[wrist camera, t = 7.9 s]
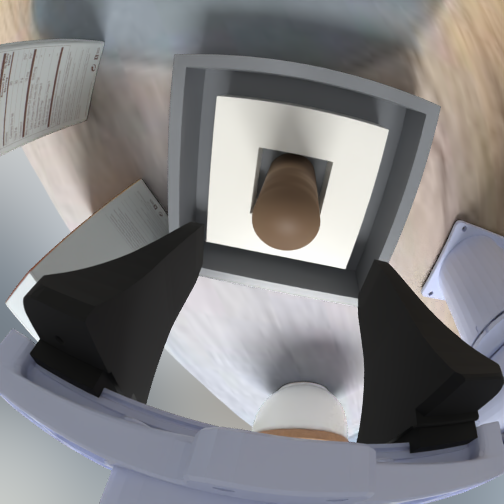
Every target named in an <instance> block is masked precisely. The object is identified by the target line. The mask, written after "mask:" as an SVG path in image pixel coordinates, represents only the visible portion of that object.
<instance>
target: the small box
mask: <svg viewBox="0 0 504 504" xmlns="http://www.w3.org/2000/svg"><path fill="white" fill-rule="evenodd" d="M167 234H169V224H168V215H167V214H166V212H165V211H164V210H163V208H162V207H161V205H160V204H159V203H158V201H157V200H156V198H155V197H154V196H153V194H152V193H151V192H150V190H149V189H148V187H147V186H146V185H145V183H144V182H143V180H142V179H139V180H138V181H137V182H135V183H134V184H132V185H131V186H129V187H128V188H126V189H125V190H124V191H122V192H121V193H120V194H119V195H117V196H116V197H115V198H113V199H112V200H110V201H109V202H108V203H107V204H106V205H104V206H103V207H102V208H100V209H99V210H98V211H97V212H95V213H94V214H93V215H92V216H90V217H89V218H88V219H87V220H85V221H84V222H83V223H82V224H81V225H79V226H78V227H77V228H76V229H75V230H73V231H72V232H71V233H70V234H69V235H68V236H66V237H65V238H64V239H63V240H62V241H61V242H60V243H59V244H57V245H56V246H55V247H54V248H53V249H52V250H51V251H50V252H49V253H48V254H46V255H45V256H44V257H43V258H42V259H41V260H40V261H39V262H38V263H37V264H36V265H35V266H34V267H33V268H31V270H29V272H28V273H27V274H26V275H25V276H24V277H23V279H22V280H21V281H20V283H19V284H18V285H17V286H16V288H15V289H14V290H13V292H12V293H11V295H10V296H9V297H8V299H7V301H6V302H5V303H6V305H7V306H8V308H9V309H10V310H11V311H12V313H13V314H14V315H15V316H16V317H17V319H18V320H19V321H20V322H21V323H22V325H23V326H24V327H25V328H26V329H27V330H28V331H29V333H30V334H31V335H32V336H33V337H34V338H35V339H36V340H37V341H39V340H40V338H39V336H38V335H37V333H36V331H35V330H34V328H33V326H32V324H31V322H30V321H29V319H28V317H27V315H26V313H25V310H24V306H23V297H24V296H25V295H26V294H27V293H28V292H29V291H30V289H31V288H32V287H33V286H34V285H35V284H36V283H37V282H38V281H39V280H40V279H41V278H42V276H43V275H50V274H56V273H63V272H69V271H74V270H79V269H84V268H87V267H91V266H95V265H98V264H101V263H104V262H108V261H111V260H114V259H117V258H119V257H122V256H124V255H127V254H129V253H131V252H134V251H136V250H138V249H140V248H142V247H144V246H146V245H148V244H150V243H152V242H154V241H156V240H158V239H160V238H161V237H163V236H165V235H167Z"/></svg>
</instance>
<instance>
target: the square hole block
mask: <svg viewBox="0 0 504 504" xmlns="http://www.w3.org/2000/svg"><path fill="white" fill-rule="evenodd" d="M440 108H441V106H439V105H436V104H434V103H432V102H429V101H427V100H425V99H422V98H420V97H417V96H415V95H412V94H410V93H407V92H404V91H402V90H399V89H396V88H393V87H390V86H388V85H385V84H382V83H378V82H375V81H372V80H369V79H365V78H362V77H358V76H355V75H351V74H347V73H343V72H339V71H335V70H331V69H326V68H322V67H317V66H312V65H307V64H301V63H296V62H290V61H283V60H276V59H268V58H259V57H249V56H236V55H217V54H175V55H174V63H173V73H172V85H171V98H170V115H169V137H168V224H169V233H170V232H172V231H174V230H176V229H177V228H179V227H181V226H183V225H185V224H187V223H189V222H196V223H201V224H205V226H204V250H203V265H202V268H201V270H200V273H199V276H202V277H207V278H211V279H216V280H220V281H225V282H230V283H235V284H239V285H244V286H249V287H254V288H259V289H264V290H269V291H274V292H279V293H284V294H289V295H294V296H299V297H305V298H310V299H315V300H321V301H326V302H332V303H338V304H343V305H349V306H355V307H358V294H359V292H360V290H361V288H362V286H363V284H364V281H365V279H366V277H367V275H368V272H369V270H370V268H371V266H372V263H373V261H374V259H376V260H380V261H385V262H387V263H389V261H390V258H391V256H392V254H393V251H394V249H395V247H396V244H397V242H398V240H399V237H400V235H401V232H402V230H403V227H404V225H405V222H406V220H407V217H408V215H409V212H410V209H411V207H412V204H413V201H414V198H415V195H416V193H417V190H418V187H419V184H420V181H421V178H422V175H423V172H424V168H425V165H426V162H427V158H428V155H429V152H430V148H431V144H432V141H433V137H434V133H435V129H436V125H437V121H438V117H439V112H440ZM286 153H294V154H299V155H302V156H304V157H306V158H307V159H308V160H309V161H310V162H311V163H312V165H313V167H314V170H315V176H316V184H317V193H318V202H319V211H320V228H319V231H318V233H317V235H316V237H315V238H314V240H313V241H312V242H310V243H309V244H308V245H306V246H305V247H303V248H300V249H297V250H291V251H283V250H278V249H275V248H272V247H270V246H268V245H267V244H265V243H264V242H263V241H261V240H260V238H259V237H258V236H257V234H256V233H255V231H254V228H253V225H252V213H253V210H254V207H255V204H256V202H257V199H258V197H259V194H260V191H261V189H262V186H263V184H264V181H265V178H266V176H267V173H268V171H269V168H270V166H271V164H272V162H273V161H274V160H275V159H276V158H277V157H279V156H280V155H283V154H286Z"/></svg>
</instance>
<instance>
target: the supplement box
mask: <svg viewBox="0 0 504 504" xmlns="http://www.w3.org/2000/svg"><path fill="white" fill-rule="evenodd" d="M103 47H104V42H103V41H95V40H84V39H46V40H32V41H22V42H13V43H6V44H0V156H2V155H4V154H6V153H8V152H10V151H12V150H14V149H16V148H18V147H21V146H23V145H25V144H27V143H30V142H32V141H34V140H36V139H39V138H41V137H43V136H46V135H48V134H51V133H53V132H56V131H59V130H61V129H64V128H66V127H69V126H72V125H75V124H77V123H81V122H83V121H86V120H87V116H88V111H89V106H90V100H91V96H92V91H93V87H94V82H95V78H96V74H97V70H98V66H99V62H100V58H101V54H102V51H103Z"/></svg>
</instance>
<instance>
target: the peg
mask: <svg viewBox="0 0 504 504" xmlns="http://www.w3.org/2000/svg"><path fill="white" fill-rule="evenodd" d="M252 225H253V228H254V231H255V233H256V234H257V236H258V237H259V238H260V240H261V241H263V242H264V243H265V244H267V245H268V246H270V247H272V248H275V249H278V250H283V251H291V250H297V249H300V248H303V247H305V246H306V245H308V244H309V243H310V242H312V241H313V240H314V238H315V237H316V235H317V233H318V231H319V228H320V211H319V202H318V193H317V184H316V176H315V170H314V167H313V165H312V163H311V162H310V161H309V160H308V159H307V158H306V157H304V156H302V155H299V154H294V153H286V154H283V155H280V156H279V157H277V158H276V159H275V160H274V161H273V162H272V164H271V166H270V168H269V171H268V173H267V176H266V178H265V181H264V184H263V186H262V189H261V191H260V194H259V197H258V199H257V202H256V204H255V207H254V210H253V213H252Z"/></svg>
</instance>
